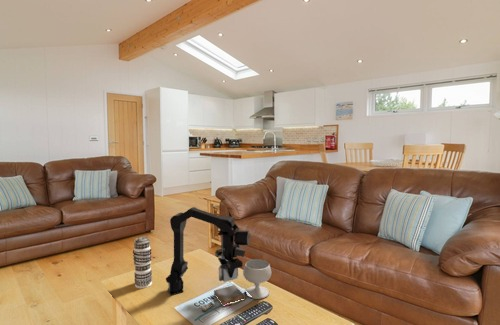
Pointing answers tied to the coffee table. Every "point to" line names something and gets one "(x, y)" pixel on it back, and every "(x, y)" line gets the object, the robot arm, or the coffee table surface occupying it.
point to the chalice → (257, 277)
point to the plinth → (229, 294)
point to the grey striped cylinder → (142, 262)
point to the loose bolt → (206, 306)
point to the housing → (226, 274)
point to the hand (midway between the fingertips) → (228, 275)
